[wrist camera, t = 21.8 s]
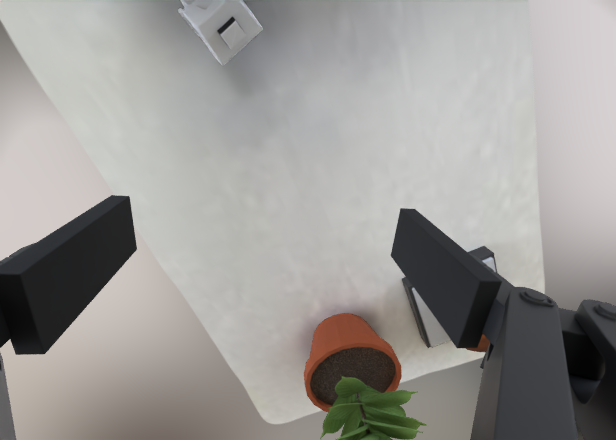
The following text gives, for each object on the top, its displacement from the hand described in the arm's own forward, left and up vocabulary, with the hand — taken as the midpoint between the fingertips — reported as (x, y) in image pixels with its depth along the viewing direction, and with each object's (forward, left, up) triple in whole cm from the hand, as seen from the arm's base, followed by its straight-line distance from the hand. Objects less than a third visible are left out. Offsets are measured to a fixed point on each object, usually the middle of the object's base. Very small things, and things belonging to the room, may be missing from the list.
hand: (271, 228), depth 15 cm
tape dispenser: (-13, -6, -27) cm, 30 cm away
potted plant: (+32, +13, -27) cm, 44 cm away
